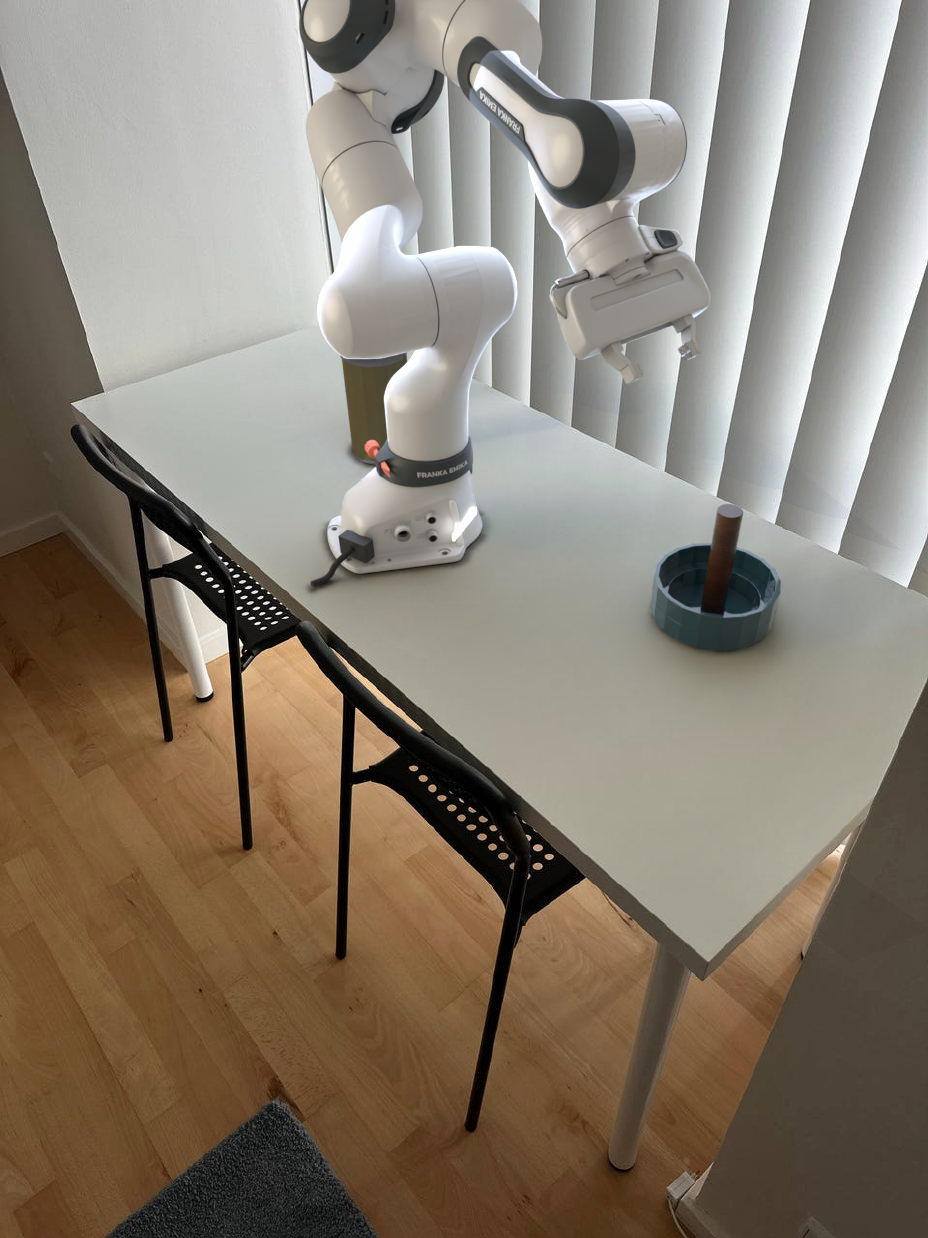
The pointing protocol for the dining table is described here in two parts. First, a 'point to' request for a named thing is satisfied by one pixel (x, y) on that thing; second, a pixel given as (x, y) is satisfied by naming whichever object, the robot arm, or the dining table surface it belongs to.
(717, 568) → the stick
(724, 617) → the bowl
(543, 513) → the dining table surface
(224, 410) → the dining table surface
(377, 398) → the canister
